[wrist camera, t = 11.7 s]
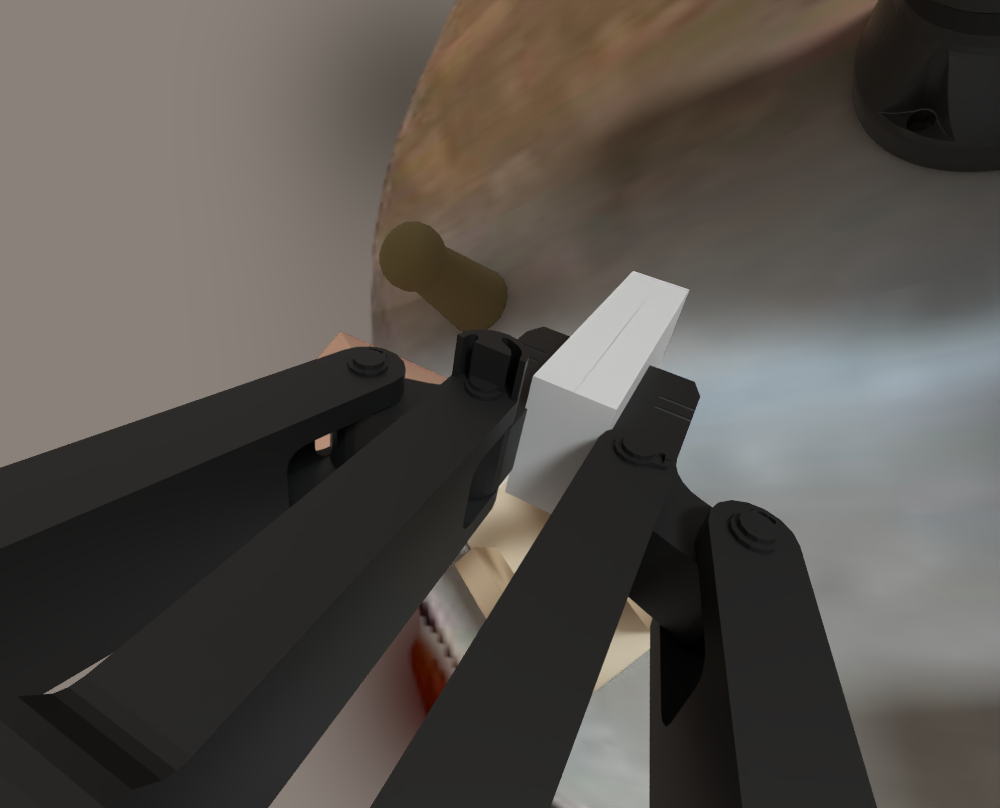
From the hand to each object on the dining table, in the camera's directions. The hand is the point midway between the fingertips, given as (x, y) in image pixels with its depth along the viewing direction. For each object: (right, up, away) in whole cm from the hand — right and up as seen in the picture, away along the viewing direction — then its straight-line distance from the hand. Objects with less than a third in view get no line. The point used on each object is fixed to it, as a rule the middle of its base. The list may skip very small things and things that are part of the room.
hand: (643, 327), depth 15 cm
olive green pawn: (-6, +7, +36) cm, 37 cm away
